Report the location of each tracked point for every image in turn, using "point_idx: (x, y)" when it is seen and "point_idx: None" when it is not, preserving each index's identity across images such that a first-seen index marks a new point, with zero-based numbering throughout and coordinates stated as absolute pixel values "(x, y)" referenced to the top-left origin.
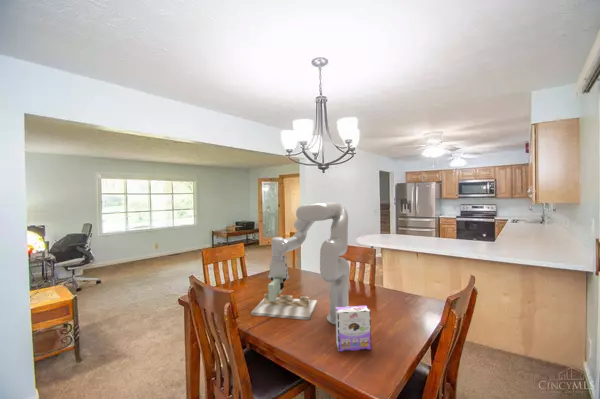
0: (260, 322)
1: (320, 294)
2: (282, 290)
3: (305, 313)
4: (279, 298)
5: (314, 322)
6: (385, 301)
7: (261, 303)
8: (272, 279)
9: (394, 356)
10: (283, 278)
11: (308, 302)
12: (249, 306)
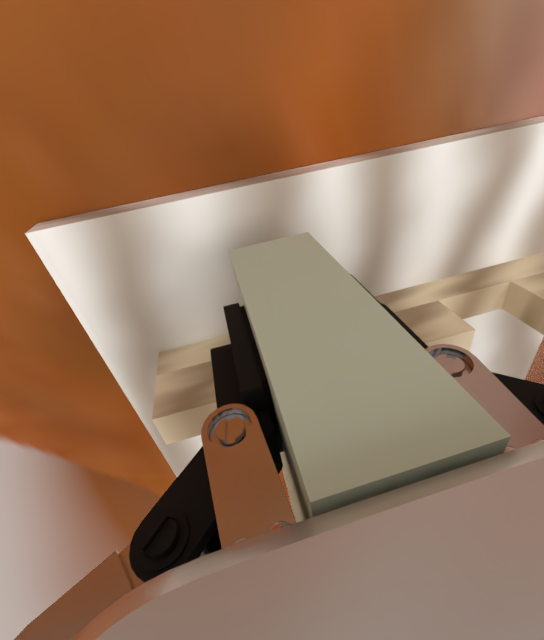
0: (282, 481)
1: None
2: (309, 233)
3: (506, 361)
4: (240, 216)
5: (530, 377)
6: None
7: (143, 385)
8: (211, 539)
9: None
10: (508, 425)
11: None
12: (55, 413)
